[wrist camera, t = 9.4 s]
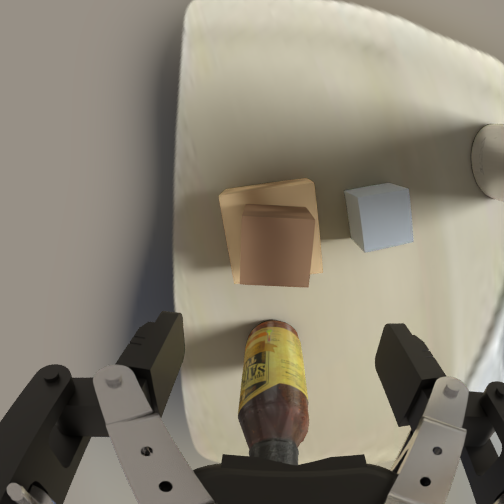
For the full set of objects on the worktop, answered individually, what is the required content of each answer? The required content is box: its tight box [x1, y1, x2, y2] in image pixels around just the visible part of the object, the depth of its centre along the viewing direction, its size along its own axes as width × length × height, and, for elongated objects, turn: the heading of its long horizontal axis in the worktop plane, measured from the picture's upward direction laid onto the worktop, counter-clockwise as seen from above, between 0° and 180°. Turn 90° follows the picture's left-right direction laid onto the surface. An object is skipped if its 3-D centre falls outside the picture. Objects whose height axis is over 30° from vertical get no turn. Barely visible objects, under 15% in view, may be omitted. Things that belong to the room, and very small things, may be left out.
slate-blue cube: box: [344, 183, 413, 253], centre depth 28 cm, size 5×5×5 cm
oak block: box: [219, 178, 323, 284], centre depth 29 cm, size 8×8×5 cm
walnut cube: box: [240, 204, 315, 287], centre depth 24 cm, size 5×5×5 cm
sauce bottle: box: [238, 320, 309, 465], centre depth 26 cm, size 7×6×20 cm
